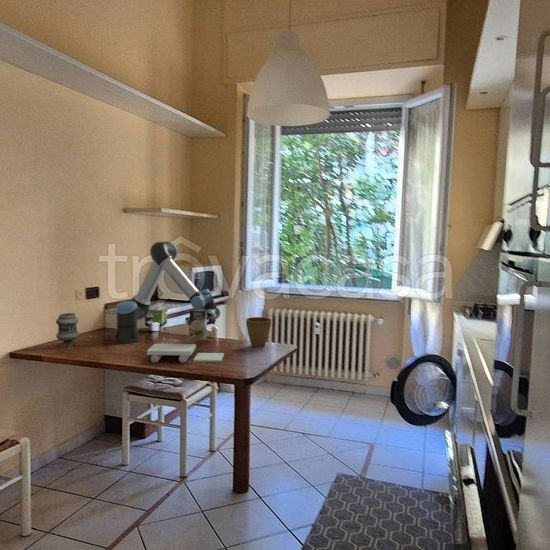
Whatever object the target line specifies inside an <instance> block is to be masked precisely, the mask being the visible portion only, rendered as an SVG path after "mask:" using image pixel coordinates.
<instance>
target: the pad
mask: <svg viewBox="0 0 550 550" xmlns="http://www.w3.org/2000/svg"><path fill="white" fill-rule="evenodd" d="M224 355H225V353H224V352H197V354H196V355H195V357H194V359H193V362H194V363H195V362H197V363H200V362H203V363H209V362H210V363H221V362H222V361H223V358H224Z"/></svg>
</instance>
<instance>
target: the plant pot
mask: <svg viewBox="0 0 550 550" xmlns="http://www.w3.org/2000/svg"><path fill="white" fill-rule="evenodd" d="M245 322H246V331H247V335H248V339H249V341H250V344H251V347H252V346H253V348H256V347H261V348H264V347H265V346H266V343H267V341H268V337H269V335H270V329H271V326H272V319H271V318H269V317H263V316H261V317H260V316H253V317H248V318H246V319H245ZM263 346H264V347H263Z"/></svg>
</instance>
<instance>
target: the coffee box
mask: <svg viewBox="0 0 550 550" xmlns="http://www.w3.org/2000/svg"><path fill="white" fill-rule="evenodd" d="M189 317H190V321H189V327H188V339H189V340H198V341H200V340H202V341H203V340H206V338H207V326H206V327H204V321H206V320H207V310H204V308H201V309H195V308H191V309H190V310H189Z"/></svg>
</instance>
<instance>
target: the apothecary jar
mask: <svg viewBox="0 0 550 550" xmlns="http://www.w3.org/2000/svg"><path fill="white" fill-rule="evenodd" d="M79 322H80V321H79V319H78V317H77V316H76V313H74V312H67V313H60V314H58V318H57V319H56V321H55V323H56V324H57V326H58V332H57V333H56V335H55V336H56V339H57V340H59V341H62V342H60V343H59V344H60V345H65V346H70V345H75V346H77V345H78V343H77V342H75V341H74V340H77V339H78V338H79V337H80V333H79V331H78V329H77V324H78V323H79ZM76 344H77V345H76ZM70 347H71V346H70Z"/></svg>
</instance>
